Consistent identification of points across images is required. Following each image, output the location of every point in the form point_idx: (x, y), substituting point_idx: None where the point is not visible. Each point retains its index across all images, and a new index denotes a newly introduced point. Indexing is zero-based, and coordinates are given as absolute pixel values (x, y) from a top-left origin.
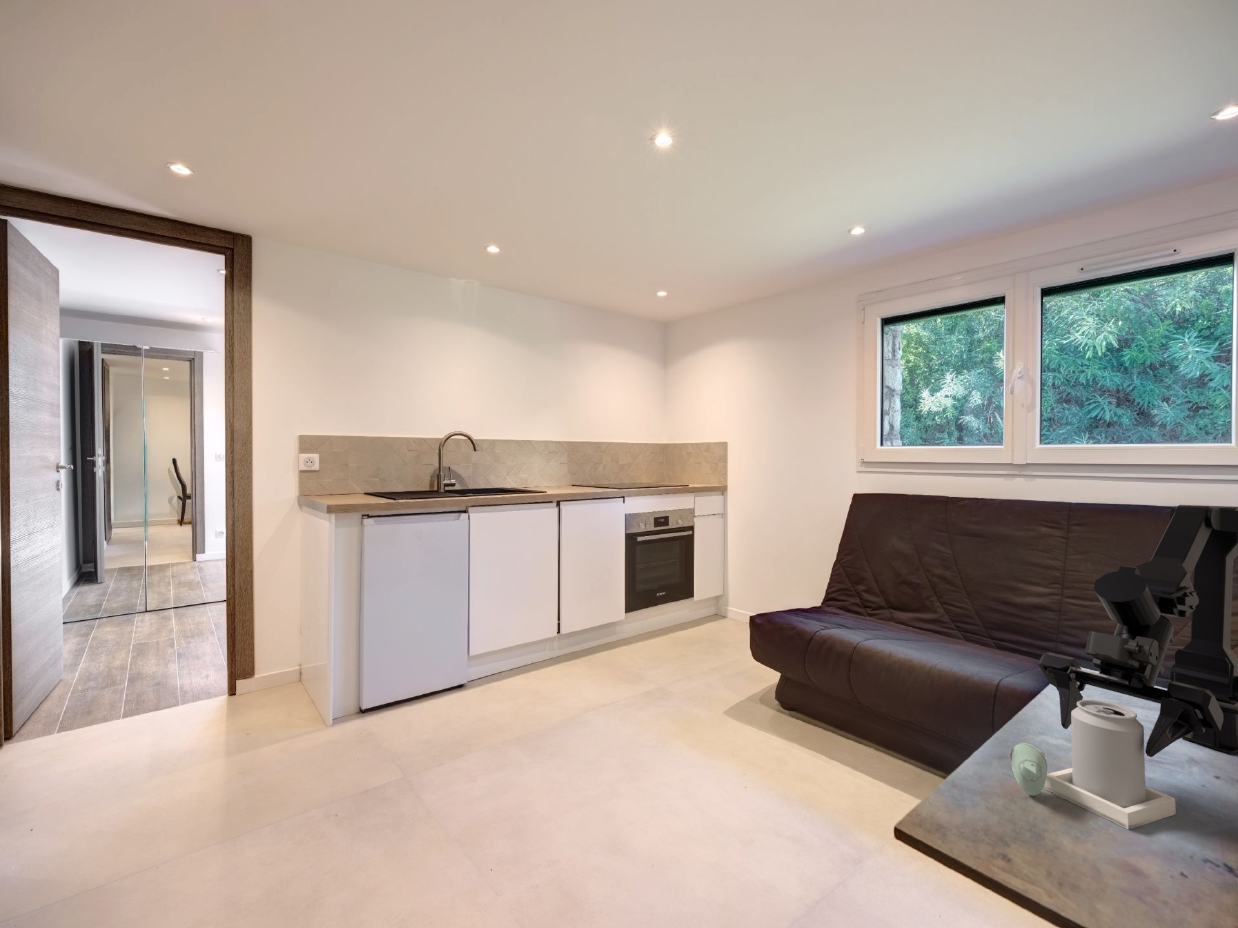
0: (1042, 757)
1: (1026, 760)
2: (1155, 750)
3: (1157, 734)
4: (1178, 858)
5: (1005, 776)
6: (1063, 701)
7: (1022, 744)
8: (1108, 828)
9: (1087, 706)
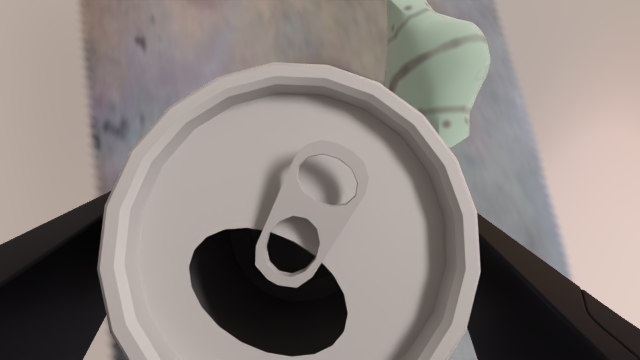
0: (411, 55)
1: (427, 8)
2: None
3: (40, 231)
4: (156, 92)
5: (471, 148)
6: (559, 284)
7: (472, 31)
8: None
9: (412, 241)
